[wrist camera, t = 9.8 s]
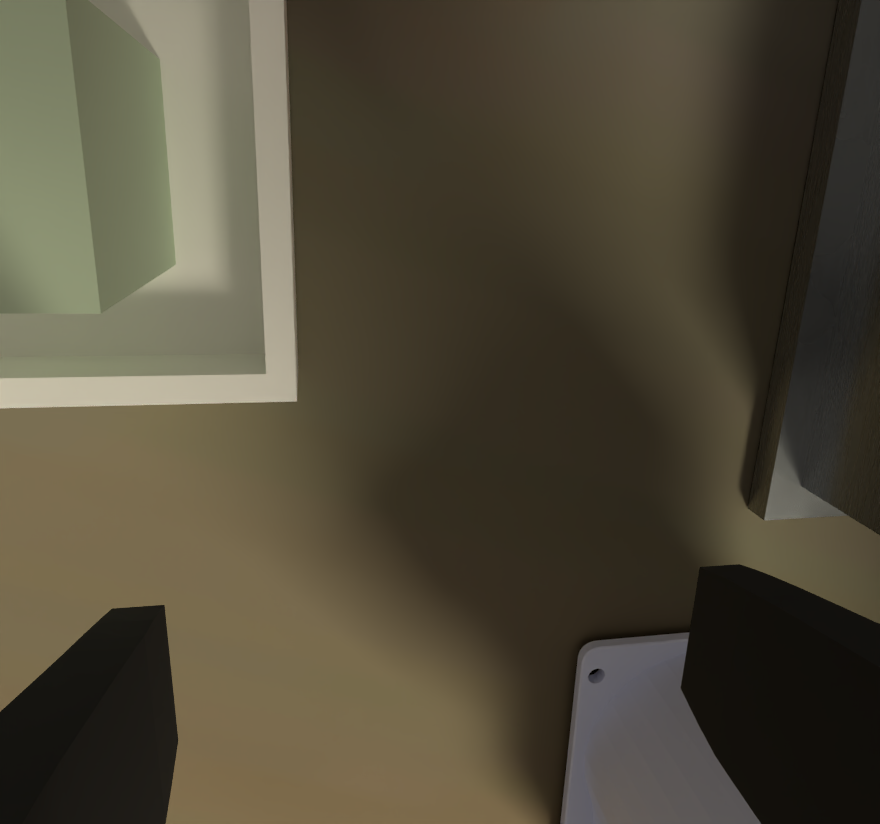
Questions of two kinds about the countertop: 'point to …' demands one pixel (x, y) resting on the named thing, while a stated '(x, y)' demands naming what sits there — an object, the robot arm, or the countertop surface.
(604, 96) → the countertop surface
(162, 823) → the robot arm
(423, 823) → the countertop surface
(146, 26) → the off-white tray
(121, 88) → the sage green block
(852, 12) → the grey unit
